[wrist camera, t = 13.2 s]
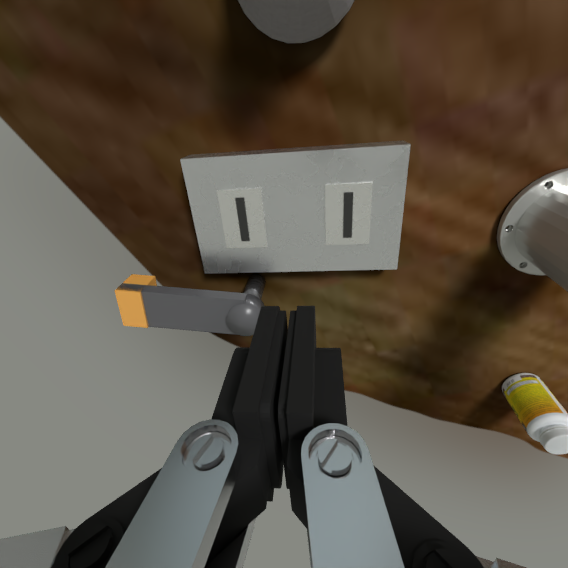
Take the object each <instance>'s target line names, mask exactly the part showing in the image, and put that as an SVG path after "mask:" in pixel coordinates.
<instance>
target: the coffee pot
mask: <svg viewBox="0 0 568 568" xmlns="http://www.w3.org/2000/svg"><path fill="white" fill-rule="evenodd" d="M238 1H239V3H240V5H241V7H242V9H243V11H244V13H245V15H246V16H247V17H248V18H249V19H250V21H251V22H252V23H253V24H254V25H255V26H256V28H257V29H259V30H260V31H262V32H263V33H265V34H266V35H268V36H269V37H271V38H272V39H275V40H279V41H282V42H285V43H305V42H308V41H311V40H314V39H317V38H320V37H322V36H323V35H324V34H326V33H327V32H328V31H330V30H331V29H333V28H334V27H335V26H336V25H337V24H338V23H339V22H340V21H341V19H342V18H343V17H344V16H345V15H346V14H347V12H348V11H349V10H350V8H351V6H352V4H353V2H354V0H238Z"/></svg>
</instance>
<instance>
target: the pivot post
mask: <svg viewBox="0 0 568 568" xmlns="http://www.w3.org/2000/svg"><path fill="white" fill-rule="evenodd" d="M265 283H266V281H265V278H264V277H263V276H261V275H259V274H253V275H251V276H250V278H249V280H248V283H247V285H246V288H245V290H244V293H247V294H252V295H255V296H257V297H258V298H259V299H261V298H262V294H263V291H264V287H265Z"/></svg>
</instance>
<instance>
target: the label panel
mask: <svg viewBox="0 0 568 568" xmlns="http://www.w3.org/2000/svg"><path fill="white" fill-rule="evenodd" d="M409 154H410V144H409V143H407V142H405V141H392V142H376V143H361V144H346V145H331V146H316V147H301V148H286V149H271V150H256V151H241V152H226V153H211V154H196V155H188V156H186V157H184V158H182V159H180V161H181V165H182V170H183V174H184V179H185V184H186V188H187V193H188V198H189V202H190V207H191V211H192V216H193V221H194V225H195V230H196V235H197V239H198V244H199V248H200V253H201V258H202V262H203V267H204V271H205V274H211V273H255V272H299V271H343V270H388V269H397V264H398V255H399V246H400V237H401V227H402V218H403V209H404V200H405V190H406V181H407V172H408V163H409Z"/></svg>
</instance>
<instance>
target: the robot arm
mask: <svg viewBox="0 0 568 568" xmlns="http://www.w3.org/2000/svg"><path fill="white" fill-rule="evenodd" d="M545 183H546V184H545ZM497 244H498V248H499V251H500V253H501V255H502V256H503V258H504V259H505V260H506V261H507V262H508V263H509V264H510V265H511V266H512V267H514V268H516V269H517V270H519V271H521V272H524V273H527V274H532V275H547V276H548V277H550V278H551V279H552V280H553V281H555V282H556V283H557V284H558V285H560V286H561V287H562V288H564V289H565V290H566V291H567V292H568V168H567V169H562V170H558V171H555V172H553V173H550V174H547V175H545V176H543V177H541V178H539V179H538V180H536V181H534V182H532V183H531V184H530V185H528V186H527V187H526V188H524V189H523V190H522V191H521V192H520V193H519V194H518V195H517V196H516V197H515V198H514V199H513V200H512V201H511V203H510V204H509V205H508V207H507V208H506V210H505V212H504V214H503V215H502V217H501V220H500V223H499V226H498V230H497ZM283 465H284V470H285V477H286V486H287V489H290V498H291V506H292V511H293V512H294V513H295V515H296V516H297V517H298V518H299V520H300V521H301V522H302V523H303V524H304V526H305V527H306V528H307V535H308V545H309V553H310V564H311V568H526V567H523V566H520V565H516V564H514V563H511V562H508V561H505V560H501V559H498V558H496V560H495V562H492V561H489V560H486V559H483V558H480V557H477V556H475V555H474V554H473V553H472V552H471V551H470V550H469V549H468V548H467V547H466V546H465V545H464V544H463V543H462V542H461V541H459V540H458V539H457V538H456V537H455V536H454V535H453V534H451V533H450V532H449V531H448V530H447V529H445V528H444V527H443V526H442V525H441V524H440V523H439V522H438V521H437V520H435V519H434V518H433V517H432V516H430V514H429V513H427V512H426V511H425V510H424V509H423V508H422V507H420V506H419V505H418V504H417V503H416V502H415V501H414V500H412V499H411V498H410V497H409V496H408V495H406V493H404V492H403V491H402V490H401V489H400V488H399V487H398V486H396V485H395V484H394V483H393V482H392V481H391V480H390V479H388V478H387V477H386V476H385V475H384V474H382V472H380V471H379V470H378V469H377V468H376V467H375V466H374V465H373V463H372V459H371V456H370V452H369V450H368V447H367V445H366V443H365V441H364V439H363V438H362V437H361V436H360V435H359V434H358V432H356V431H355V430H353V429H352V428H350V427H348V426H347V417H346V405H345V394H344V382H343V370H342V359H341V349H340V348H316V325H315V306H297V311H291V312H290V319H289V327H288V329H287V317H286V311H280V308H279V306H262V307H261V309H260V313H259V316H258V320H257V324H256V327H255V331H254V335H253V338H252V342H251V346H250V348H236V349H235V351H234V353H233V356H232V359H231V362H230V365H229V368H228V371H227V374H226V377H225V380H224V383H223V386H222V389H221V392H220V395H219V398H218V401H217V404H216V407H215V410H214V413H213V416H212V419H211V420H206V421H202V422H199V423H197V424H195V425H193V426H191V427H190V428H189V429H188V430H187V431H185V432H184V433H183V434H182V436H181V437H180V438H179V440H178V441H177V443H176V445H175V446H174V448H173V450H172V452H171V453H170V455H169V457H168V459H167V460H166V462H165V464H164V466H163V467H162V468H161V469H160V470H159V471H157V472H156V473H154V474H153V475H151V476H150V477H148V478H147V479H145V480H144V481H142V482H141V483H139V484H138V485H137V486H135V487H134V488H132V489H131V490H129V491H128V492H126V493H125V494H123V495H122V496H120V497H119V498H117V499H116V500H115V501H113V502H112V503H110V504H109V505H107V506H106V507H104V508H103V509H101V510H100V511H98V512H97V513H96V514H94V515H93V516H91V517H90V518H88V519H87V520H85V521H84V522H83V523H82V524H81V525H79V526H78V527H77V528H76V529H72V530H69V529H68V528H67V527H66V526H64V527H59V528H54V529H49V530H44V531H39V532H34V533H29V534H24V535H19V536H14V537H9V538H4V539H0V568H243V564H244V561H245V558H246V554H247V550H248V547H249V543H250V540H251V536H252V533H253V529H254V524H255V518H256V517H257V516H258V515H259V514H260V513H261V512H263V511H264V510H265V509H266V504H267V501H273V492H274V488H281V485H282V475H283Z"/></svg>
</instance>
